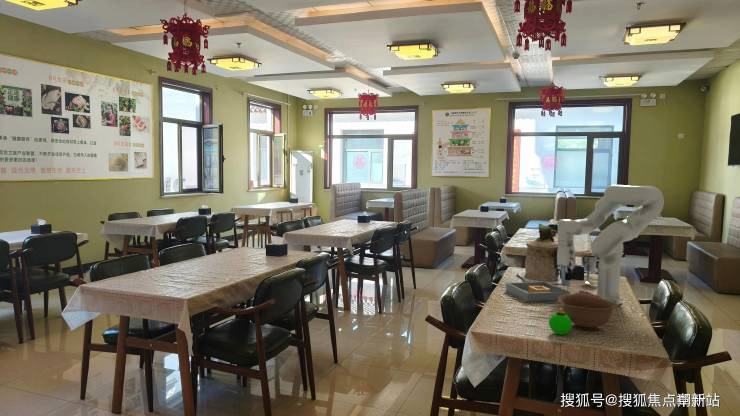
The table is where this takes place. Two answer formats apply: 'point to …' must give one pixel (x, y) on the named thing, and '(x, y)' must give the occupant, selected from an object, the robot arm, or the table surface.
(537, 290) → the frame
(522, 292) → the walled box
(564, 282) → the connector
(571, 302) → the bowl
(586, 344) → the table surface
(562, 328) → the ornament
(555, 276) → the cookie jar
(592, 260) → the wine glass
